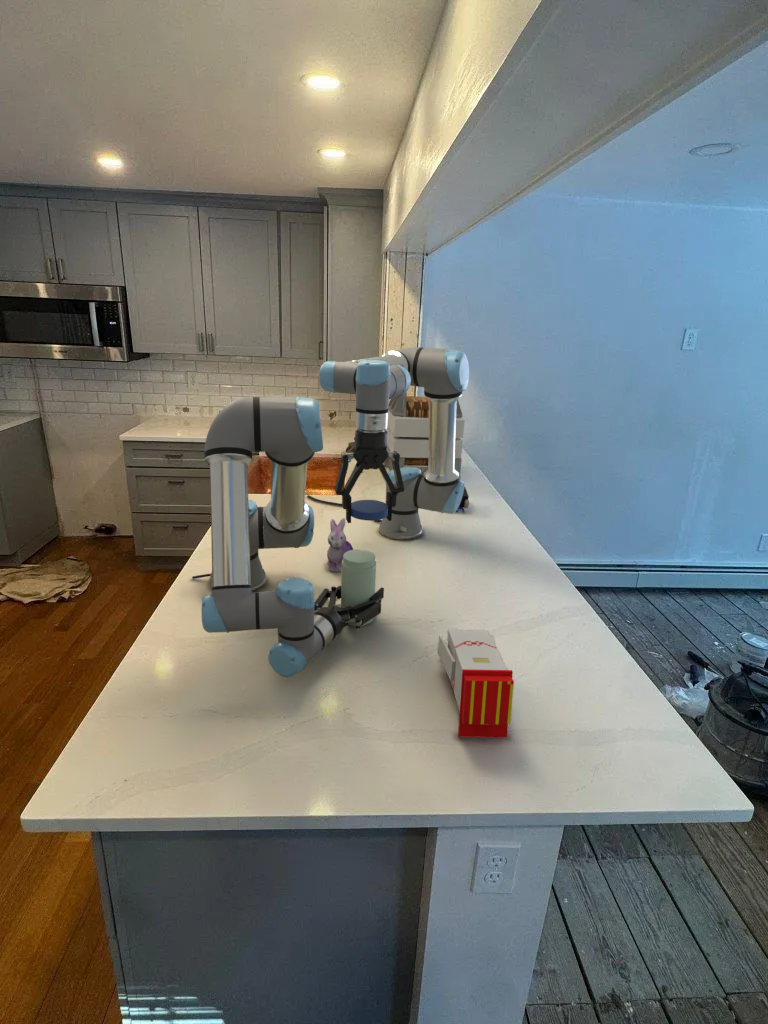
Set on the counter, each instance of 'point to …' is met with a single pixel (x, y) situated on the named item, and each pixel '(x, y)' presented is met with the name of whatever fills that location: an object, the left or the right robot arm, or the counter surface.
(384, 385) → the right robot arm
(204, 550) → the counter surface
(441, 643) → the toy
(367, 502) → the lid
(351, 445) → the grey animal figure
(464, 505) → the figurine character
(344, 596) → the jar
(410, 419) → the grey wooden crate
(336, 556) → the figurine
